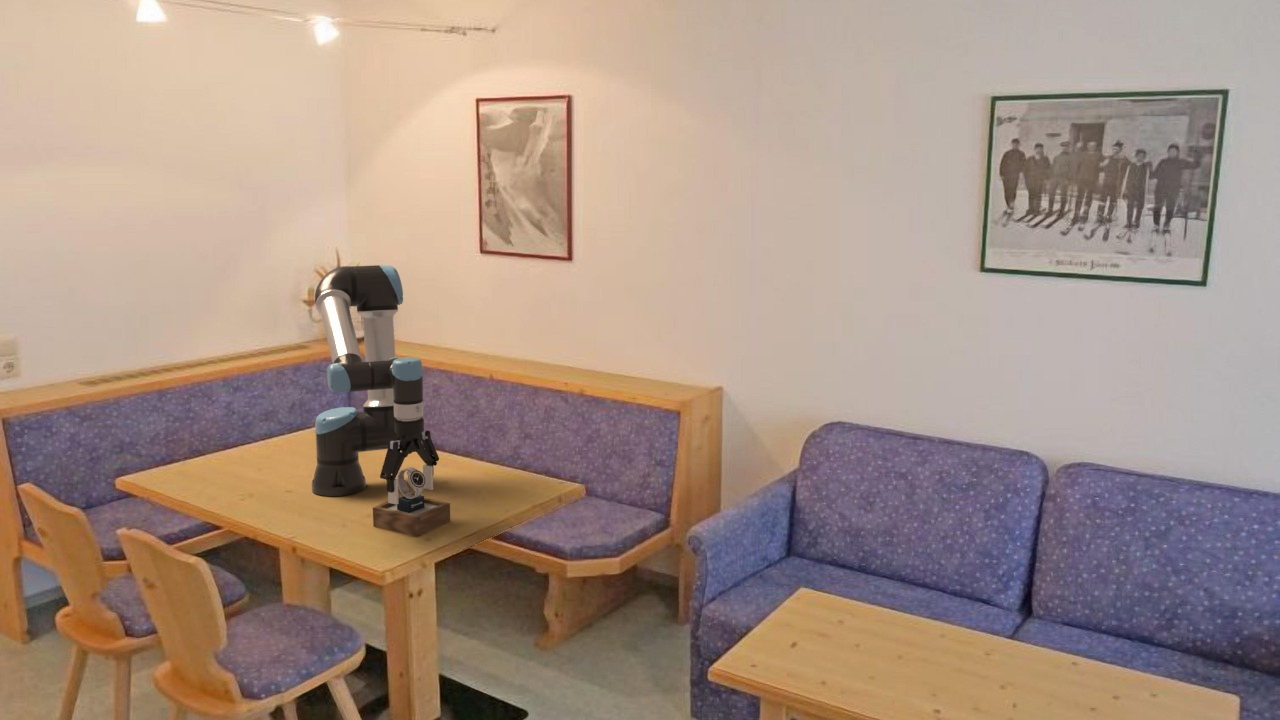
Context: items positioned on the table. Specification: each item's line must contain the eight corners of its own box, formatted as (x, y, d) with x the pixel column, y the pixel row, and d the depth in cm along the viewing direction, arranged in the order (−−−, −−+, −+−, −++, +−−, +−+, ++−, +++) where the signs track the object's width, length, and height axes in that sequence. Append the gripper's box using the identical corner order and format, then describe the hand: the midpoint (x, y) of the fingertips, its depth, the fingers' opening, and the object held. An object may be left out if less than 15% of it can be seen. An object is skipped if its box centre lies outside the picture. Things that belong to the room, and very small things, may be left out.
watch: (414, 514, 259) (412, 474, 256) (392, 508, 263) (391, 468, 261) (429, 508, 263) (428, 468, 261) (408, 502, 268) (407, 463, 265)
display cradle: (373, 526, 262) (372, 507, 261) (406, 511, 273) (406, 493, 272) (417, 536, 255) (417, 517, 254) (450, 521, 266) (449, 502, 265)
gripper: (386, 430, 246) (389, 512, 250) (451, 409, 267) (452, 485, 271) (363, 426, 249) (366, 507, 253) (429, 406, 271) (431, 481, 275)
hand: (411, 496), depth 262 cm, fingers open, 13 cm apart
